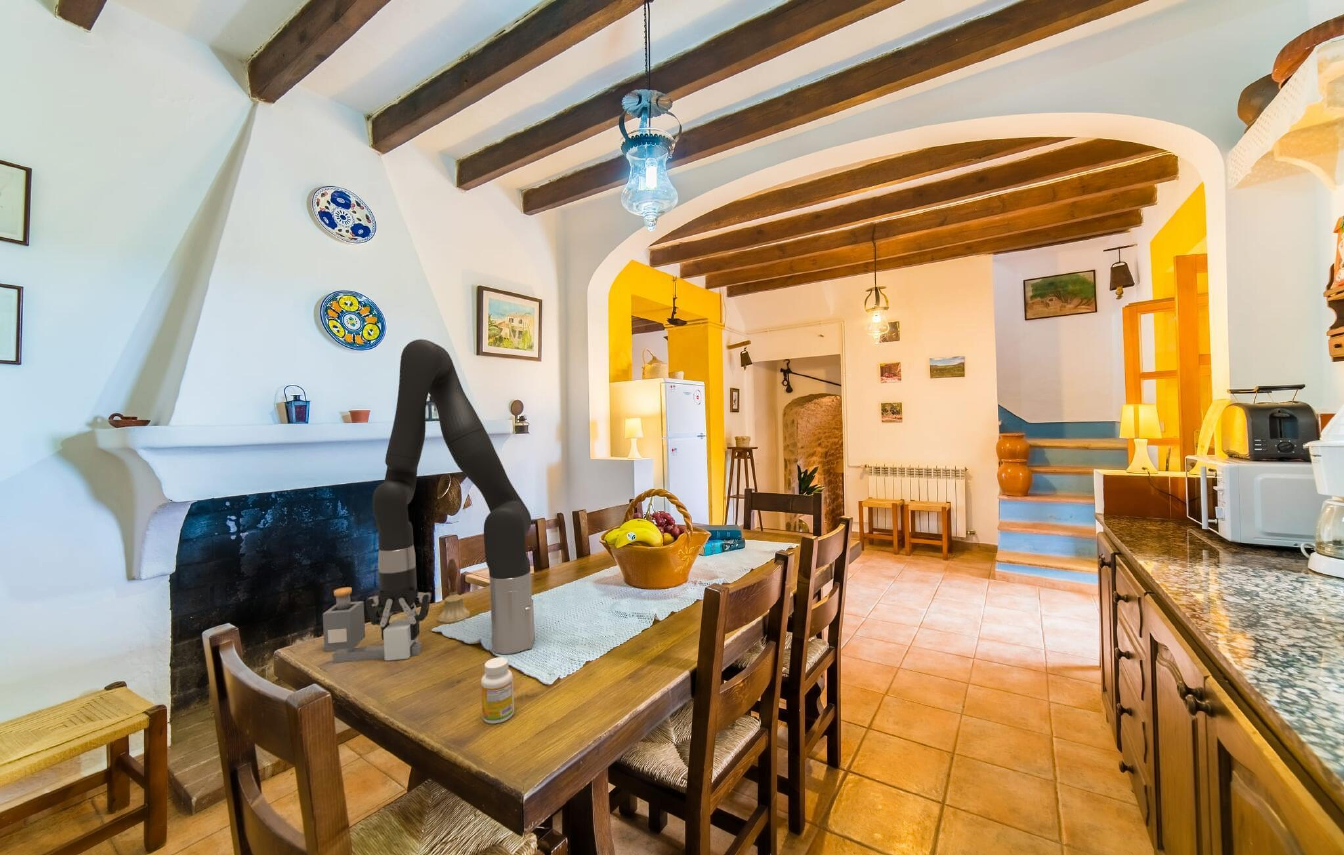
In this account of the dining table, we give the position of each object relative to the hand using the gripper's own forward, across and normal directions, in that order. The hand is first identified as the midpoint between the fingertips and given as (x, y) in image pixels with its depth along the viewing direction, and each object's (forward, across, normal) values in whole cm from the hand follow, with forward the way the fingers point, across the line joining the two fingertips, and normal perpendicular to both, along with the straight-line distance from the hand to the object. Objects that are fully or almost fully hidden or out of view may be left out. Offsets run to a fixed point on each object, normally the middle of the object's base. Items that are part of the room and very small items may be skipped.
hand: (400, 639), depth 119 cm
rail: (+3, +5, 0) cm, 6 cm away
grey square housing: (+3, +16, -9) cm, 19 cm away
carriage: (+3, 0, 0) cm, 3 cm away
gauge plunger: (-5, +16, -9) cm, 19 cm away
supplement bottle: (+4, -27, +30) cm, 41 cm away
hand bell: (+4, -6, -21) cm, 22 cm away
